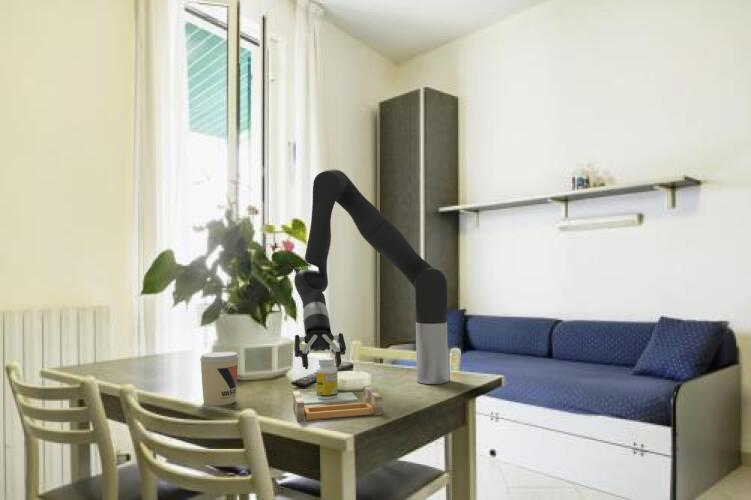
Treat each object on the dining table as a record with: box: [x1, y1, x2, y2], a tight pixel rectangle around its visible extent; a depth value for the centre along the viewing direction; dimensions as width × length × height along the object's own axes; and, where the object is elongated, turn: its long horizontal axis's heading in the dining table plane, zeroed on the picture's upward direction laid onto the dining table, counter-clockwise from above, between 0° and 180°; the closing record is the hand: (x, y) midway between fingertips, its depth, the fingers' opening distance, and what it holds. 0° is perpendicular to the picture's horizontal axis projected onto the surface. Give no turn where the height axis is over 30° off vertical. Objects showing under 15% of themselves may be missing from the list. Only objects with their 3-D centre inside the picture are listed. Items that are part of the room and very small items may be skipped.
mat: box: [301, 391, 359, 406], centre depth 132 cm, size 8×14×1 cm, turn 104°
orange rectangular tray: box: [304, 402, 374, 422], centre depth 117 cm, size 6×15×2 cm, turn 104°
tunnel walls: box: [291, 385, 383, 423], centre depth 120 cm, size 12×19×4 cm, turn 104°
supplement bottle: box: [316, 357, 339, 399], centre depth 133 cm, size 5×5×10 cm
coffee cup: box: [199, 351, 239, 407], centre depth 131 cm, size 9×9×12 cm
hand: (322, 366), depth 141 cm, fingers open, 8 cm apart
